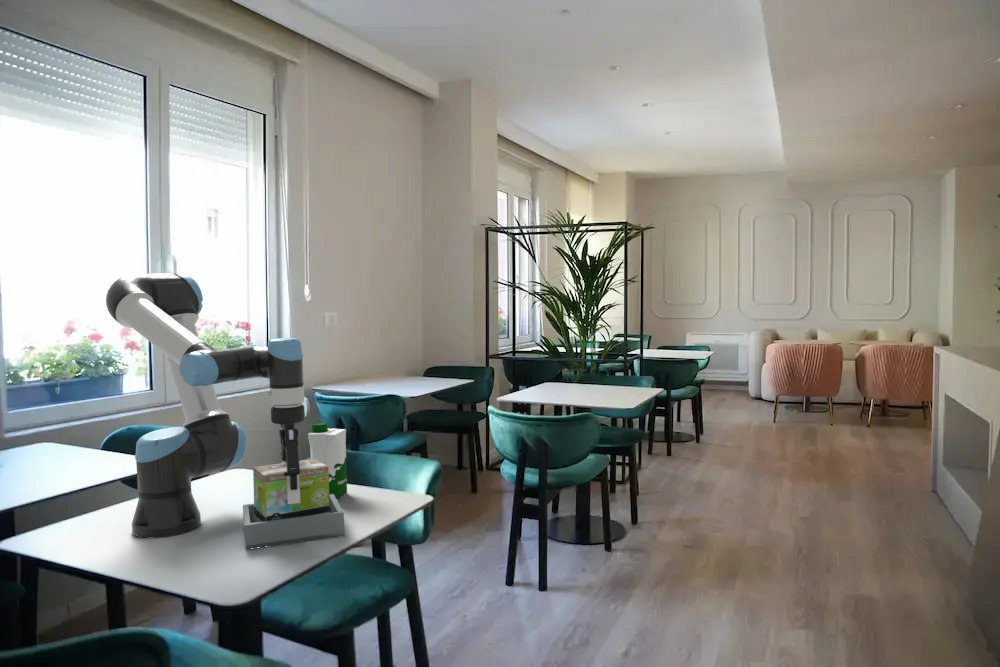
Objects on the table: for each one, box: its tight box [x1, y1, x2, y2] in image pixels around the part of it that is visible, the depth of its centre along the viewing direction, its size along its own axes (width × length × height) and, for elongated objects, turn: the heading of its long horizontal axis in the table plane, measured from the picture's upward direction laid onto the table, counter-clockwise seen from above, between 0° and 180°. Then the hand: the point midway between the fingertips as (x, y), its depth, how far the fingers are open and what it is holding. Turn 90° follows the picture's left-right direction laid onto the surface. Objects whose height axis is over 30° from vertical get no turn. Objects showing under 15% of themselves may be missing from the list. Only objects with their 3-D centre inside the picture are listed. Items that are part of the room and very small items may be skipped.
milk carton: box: [307, 421, 348, 500], centre depth 201 cm, size 9×9×20 cm
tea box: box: [252, 458, 330, 522], centre depth 172 cm, size 15×10×15 cm
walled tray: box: [242, 494, 345, 550], centre depth 173 cm, size 16×21×6 cm
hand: (291, 495), depth 172 cm, fingers open, 13 cm apart
